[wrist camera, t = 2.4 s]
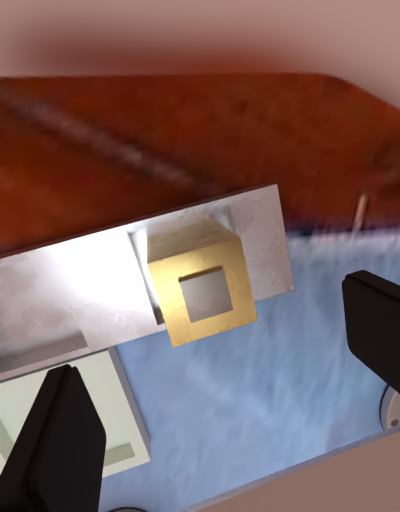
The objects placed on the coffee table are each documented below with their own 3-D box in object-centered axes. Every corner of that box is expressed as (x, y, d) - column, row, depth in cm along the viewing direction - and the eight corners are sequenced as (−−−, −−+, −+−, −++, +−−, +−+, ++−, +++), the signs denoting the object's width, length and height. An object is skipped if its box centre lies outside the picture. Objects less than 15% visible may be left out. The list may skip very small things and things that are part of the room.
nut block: (212, 218, 22) (242, 238, 15) (226, 279, 24) (260, 323, 17) (146, 237, 22) (146, 266, 15) (165, 298, 23) (173, 351, 16)
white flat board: (263, 183, 23) (277, 184, 20) (280, 279, 25) (294, 289, 23) (-98, 280, 20) (-130, 294, 18) (-42, 376, 23) (-65, 400, 20)
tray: (110, 336, 24) (107, 350, 22) (150, 440, 27) (150, 460, 25) (-33, 380, 23) (-49, 398, 21) (26, 483, 26) (16, 507, 24)
